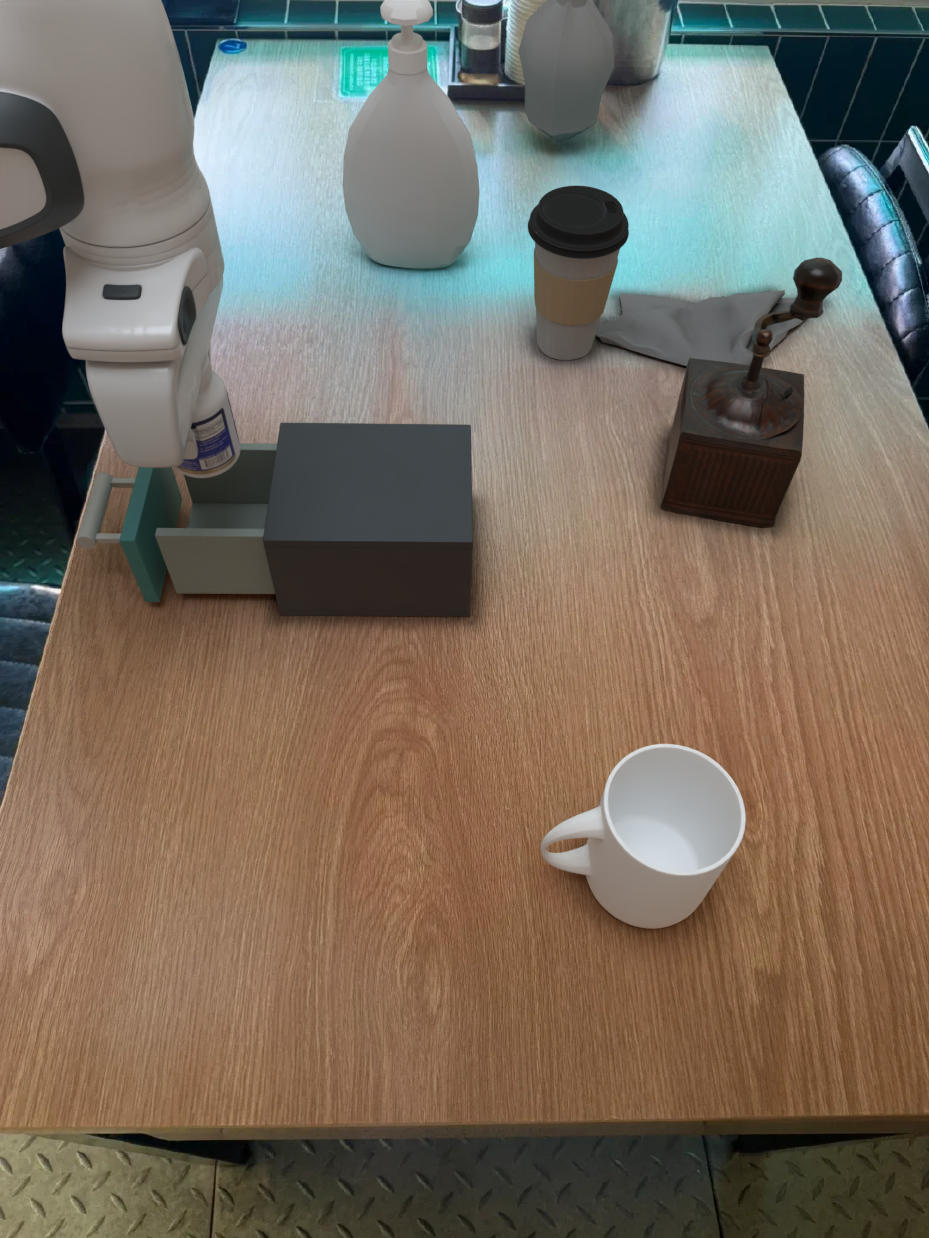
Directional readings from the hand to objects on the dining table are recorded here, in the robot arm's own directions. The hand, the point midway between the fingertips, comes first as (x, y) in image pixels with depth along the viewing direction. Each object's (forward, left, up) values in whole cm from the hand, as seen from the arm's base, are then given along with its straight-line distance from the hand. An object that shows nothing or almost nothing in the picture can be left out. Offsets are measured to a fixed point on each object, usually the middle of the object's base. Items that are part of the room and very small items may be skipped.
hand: (194, 420), depth 69 cm
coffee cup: (+30, +29, -16) cm, 45 cm away
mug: (+30, -28, -16) cm, 44 cm away
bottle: (+32, +69, -16) cm, 78 cm away
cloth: (+46, +31, -16) cm, 58 cm away
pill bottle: (0, 0, -4) cm, 4 cm away
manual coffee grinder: (+44, +12, -16) cm, 49 cm away
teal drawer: (-1, 0, -15) cm, 15 cm away
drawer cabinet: (+12, 0, -16) cm, 20 cm away
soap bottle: (+14, +44, -16) cm, 49 cm away
